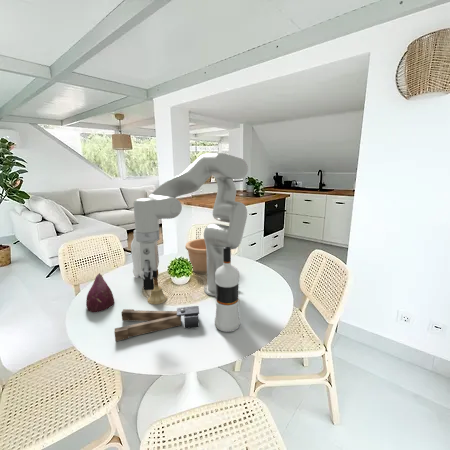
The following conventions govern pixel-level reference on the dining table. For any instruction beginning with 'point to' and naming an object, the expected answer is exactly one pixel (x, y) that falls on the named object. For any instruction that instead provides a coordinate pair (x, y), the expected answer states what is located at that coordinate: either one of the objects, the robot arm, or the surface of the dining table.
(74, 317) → the dining table surface
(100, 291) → the vegetable
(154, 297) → the hand bell
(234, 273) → the vodka
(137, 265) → the water bottle
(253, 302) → the dining table surface
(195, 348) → the dining table surface
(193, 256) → the pottery
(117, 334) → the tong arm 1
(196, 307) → the hinge block
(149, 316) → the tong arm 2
